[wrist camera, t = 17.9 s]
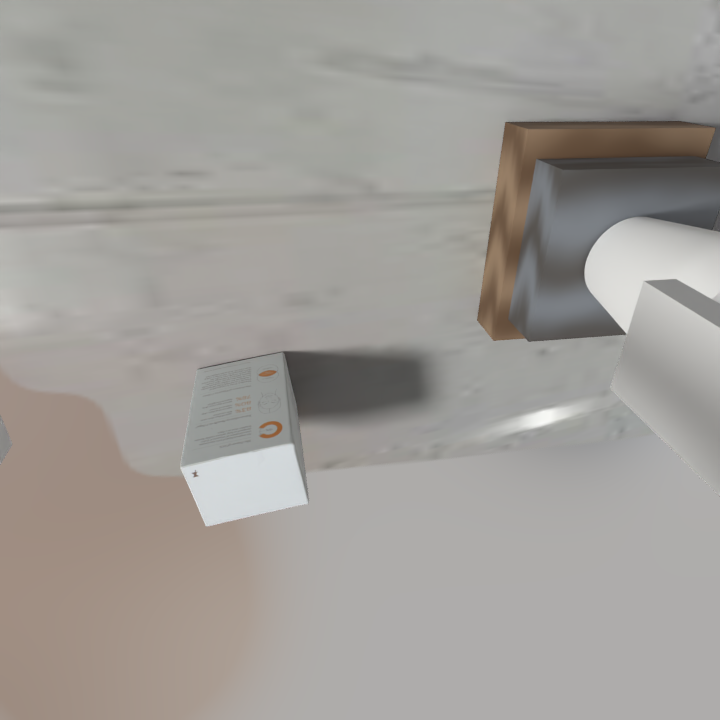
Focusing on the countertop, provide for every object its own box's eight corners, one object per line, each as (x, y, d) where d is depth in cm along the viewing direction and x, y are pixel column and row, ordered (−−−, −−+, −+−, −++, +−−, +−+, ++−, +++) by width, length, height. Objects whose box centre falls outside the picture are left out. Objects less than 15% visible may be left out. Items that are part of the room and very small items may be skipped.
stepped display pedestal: (505, 122, 41) (555, 137, 34) (679, 121, 43) (758, 135, 36) (477, 320, 49) (512, 364, 42) (622, 310, 52) (678, 350, 45)
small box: (215, 423, 50) (203, 529, 39) (195, 367, 47) (176, 467, 36) (298, 405, 51) (310, 505, 40) (285, 349, 47) (294, 442, 36)
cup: (582, 201, 36) (709, 261, 26) (699, 196, 38) (863, 252, 27) (557, 318, 41) (656, 409, 31) (661, 310, 42) (790, 394, 32)
